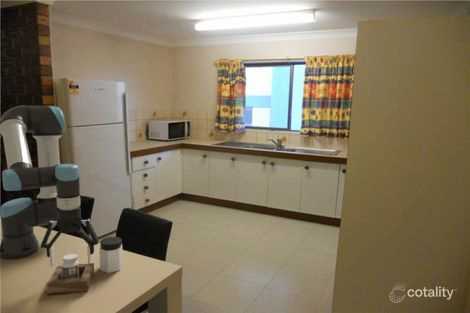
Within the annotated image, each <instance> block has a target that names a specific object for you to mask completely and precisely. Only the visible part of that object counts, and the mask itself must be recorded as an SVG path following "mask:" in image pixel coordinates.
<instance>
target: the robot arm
mask: <svg viewBox="0 0 470 313" xmlns="http://www.w3.org/2000/svg"><path fill="white" fill-rule="evenodd" d="M64 132H66V120H65V116H64V113H63V111H62V109H61V108H60V107H58V106H53V105H18V106H16V105H15V106H13V107H11V108H9V109H8V110H7V111H5V112H4V113H3V114H2V116H1V117H0V135H1V137H2V139H3V145H4V146H3V147H4V153H5V159H6V165H7V169H4V170H3V171H1V172H2V173H1V174H2V186H3V190H4V191H6V192H11V191H12V192H14V191H24V190H33V189H39V190H40V191H39V194H37V195H36V200H32V198H30V197H20V198H15V199H11V200H9V201H6V202H5V203H3V204H2V205H1V206H0V224H1V240H0V258H1V259H6V260H12V259H13V260H15V259H21V258H25V257H28V256H30V255H33V254H34V253H36V252H38V251H39V248H41V249H45V250H46V257H47V258H49V266H50V267H54V266H55V263H56V259H55V258H56V257H55V246H54V245H53V244H55V243H56V241H57V240H58V238H59V237H60V235H61V234H62V233H64V234H68V233H71V234H72V233H76V234H77V235H79V237H81V238H82V239H83V240H84V241H85V243H86V244H87V245H88V246H87V249H86V250H87V264H90V263H92V255H93V254H94V252H95V245H98V244H99V243H100V240H99V237H98V235H97V233H96V231H95V229H94V227H93V226H92V222H91V221H92V220H91V218H87V219H82V215H81V214H82V212H81V210H82V209H81V191H80V188H81V187H80V183H81V182H80V175H81V173H80V169H79V168H80V167H79V166H78V165H77V164H76V163H75V164H73V163H61V159H60V143H59V140H60V138H61V137H63V136H62V135H63V133H64ZM26 133H31V134H32V137H33V138H34V139H35V140H36V146H37V147H36V148H37V161H38V162H37V163H38V167H33V164H32V158H31V154H30V150H29V144H28V141H27V136H26ZM82 224H83V226H84V227H85V228H86V230H87V232H88V233H89V235H88V234H87V232H86V231H85V230H84V229H83V227H82ZM41 226H42V227H43V226H47V229H46V231H45V234H44V237H43V239H42V242H41V243H39V240H38V238H37V236H36V234H35V231H34V228H35V227H36V228H37V227H41ZM56 226H57V228H59V230H58V231H57V233H56V234H55V235H54V236H53V237H52V238H51V240H50V242H49V243H48V240H49V238H50V236H51V234H52V231H53V228H55V227H56Z"/></svg>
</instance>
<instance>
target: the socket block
mask: <svg viewBox="0 0 470 313" xmlns="http://www.w3.org/2000/svg"><path fill="white" fill-rule="evenodd" d="M94 275H95V263H94V262H93V263H92V262H91V263H90V264H88V263H79V278H70V279H62V265H57V266H56V267H55V270H54V272H52V274H51V276H50V278H49V280H48V281H47V283H46V289H47V290H46V291H47V297H49V296H50V297H51V296H52V297H53V296H57V295H58V296H61V295H69V294H71V293H73V294H82V292H84V293H88V291H89V289H90V287H91V285H92V280H93V278H94ZM71 295H72V294H71Z"/></svg>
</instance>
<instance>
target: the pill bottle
mask: <svg viewBox="0 0 470 313" xmlns="http://www.w3.org/2000/svg"><path fill="white" fill-rule="evenodd" d="M77 259H78V255H77V254H75V253H69V254H65V255H64V256H62V261H63V262H62V263H61V266H62V279H70V278H79V264H80V262H79V260H77Z"/></svg>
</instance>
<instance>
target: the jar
mask: <svg viewBox="0 0 470 313" xmlns="http://www.w3.org/2000/svg"><path fill="white" fill-rule="evenodd" d="M99 245H100V246H99V250H98V252H99V270H100V271H101V272H103V273H107V274H110V273H113V272H114V273H115V272H118V271H120V270H121V268H122V267H123V265H124V264H123V261H124V260H123V259H124V258H123V244H122V238H121V237H119V236H108V237H104V238H101V240H99Z"/></svg>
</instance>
